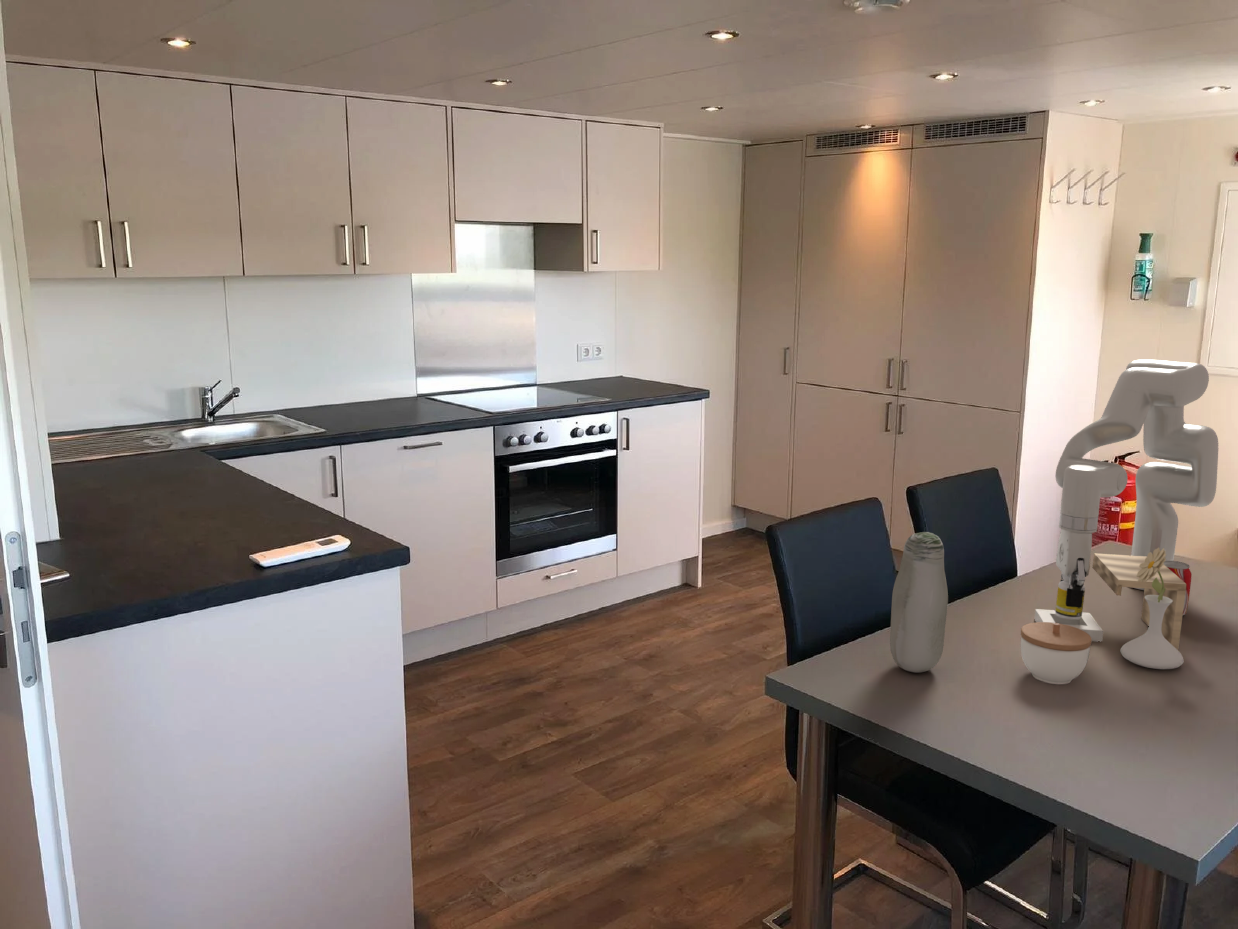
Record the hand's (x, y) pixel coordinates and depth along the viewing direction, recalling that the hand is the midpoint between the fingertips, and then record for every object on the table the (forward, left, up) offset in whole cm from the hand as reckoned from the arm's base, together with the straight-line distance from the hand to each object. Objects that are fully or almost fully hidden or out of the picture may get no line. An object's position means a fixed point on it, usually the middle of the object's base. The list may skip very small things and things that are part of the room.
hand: (1070, 601), depth 217 cm
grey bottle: (+30, -35, -7) cm, 47 cm away
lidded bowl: (+28, -9, -7) cm, 30 cm away
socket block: (0, 0, -7) cm, 7 cm away
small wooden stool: (-2, +14, -7) cm, 15 cm away
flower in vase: (+17, +12, -7) cm, 22 cm away
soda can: (-17, +26, -7) cm, 32 cm away
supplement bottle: (0, 0, -4) cm, 4 cm away
